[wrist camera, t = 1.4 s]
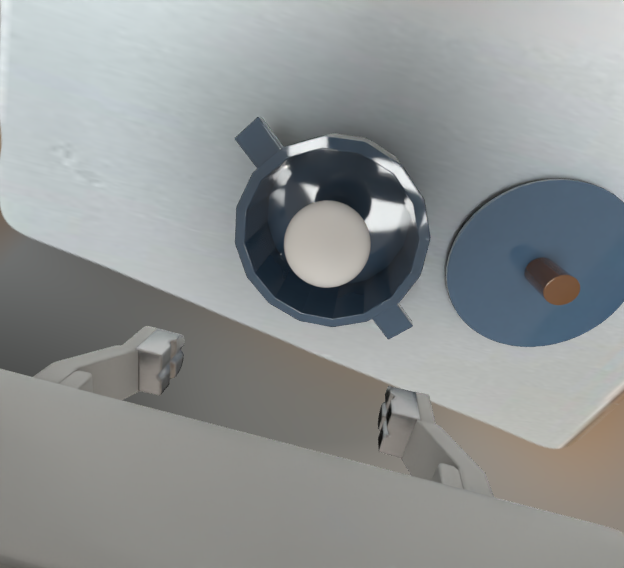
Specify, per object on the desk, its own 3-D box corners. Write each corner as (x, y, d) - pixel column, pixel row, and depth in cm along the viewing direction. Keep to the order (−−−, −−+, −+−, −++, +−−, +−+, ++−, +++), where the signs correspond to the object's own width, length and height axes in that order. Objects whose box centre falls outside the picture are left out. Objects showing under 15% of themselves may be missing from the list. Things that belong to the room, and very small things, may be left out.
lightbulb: (368, 254, 35) (366, 305, 25) (302, 250, 36) (275, 298, 26) (373, 185, 33) (374, 213, 23) (303, 183, 34) (272, 208, 24)
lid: (586, 136, 29) (630, 139, 24) (663, 287, 33) (715, 316, 28) (412, 246, 35) (418, 266, 30) (494, 365, 38) (512, 400, 33)
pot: (336, 66, 30) (326, 50, 23) (464, 260, 34) (485, 292, 28) (211, 178, 35) (174, 190, 28) (337, 333, 40) (329, 375, 33)
